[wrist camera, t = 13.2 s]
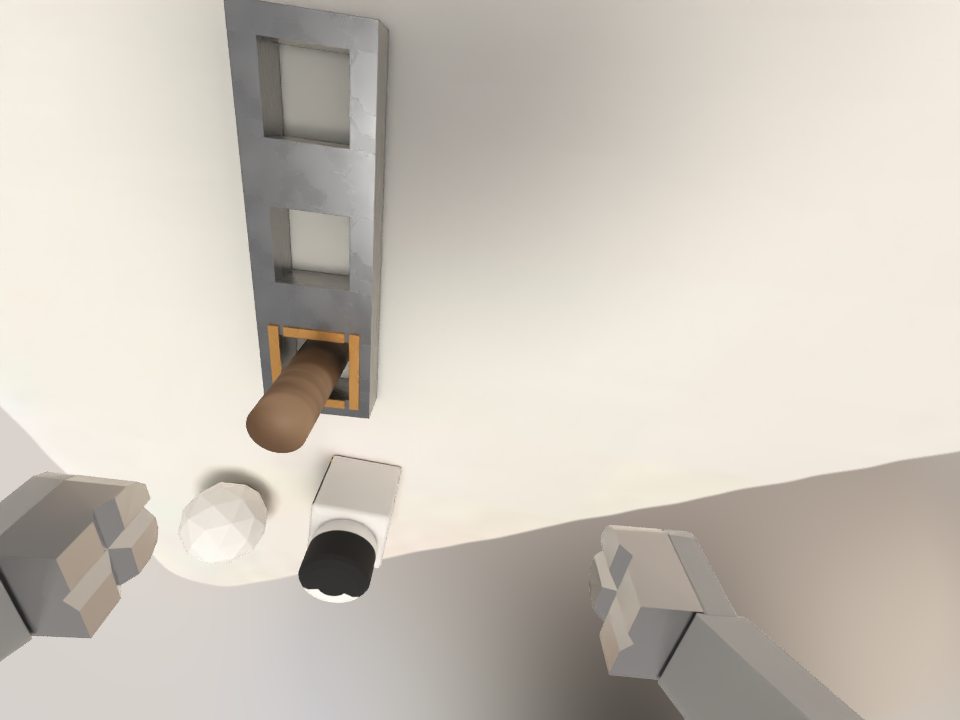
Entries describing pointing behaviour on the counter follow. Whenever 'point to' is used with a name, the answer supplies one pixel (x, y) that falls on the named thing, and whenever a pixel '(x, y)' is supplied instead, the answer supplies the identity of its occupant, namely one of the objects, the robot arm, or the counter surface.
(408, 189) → the counter surface
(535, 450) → the counter surface
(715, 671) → the robot arm
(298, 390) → the walnut peg
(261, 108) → the rectangular metal frame
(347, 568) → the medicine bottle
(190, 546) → the ball
